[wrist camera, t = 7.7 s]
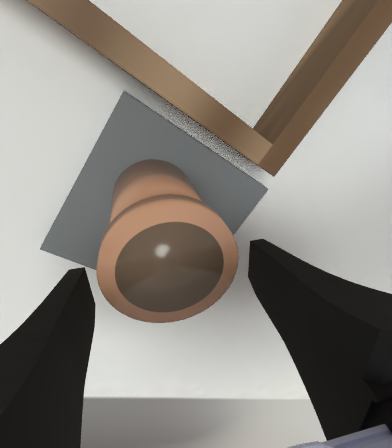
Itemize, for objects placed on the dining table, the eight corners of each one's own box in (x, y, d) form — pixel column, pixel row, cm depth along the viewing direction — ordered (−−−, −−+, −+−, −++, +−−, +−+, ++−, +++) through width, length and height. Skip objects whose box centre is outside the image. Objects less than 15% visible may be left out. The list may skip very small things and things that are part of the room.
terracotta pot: (194, 148, 16) (240, 195, 10) (199, 230, 18) (237, 309, 12) (97, 159, 15) (79, 218, 9) (116, 243, 17) (112, 335, 11)
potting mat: (264, 186, 18) (268, 189, 18) (180, 296, 21) (182, 301, 21) (124, 90, 14) (124, 91, 14) (42, 243, 17) (40, 249, 16)
